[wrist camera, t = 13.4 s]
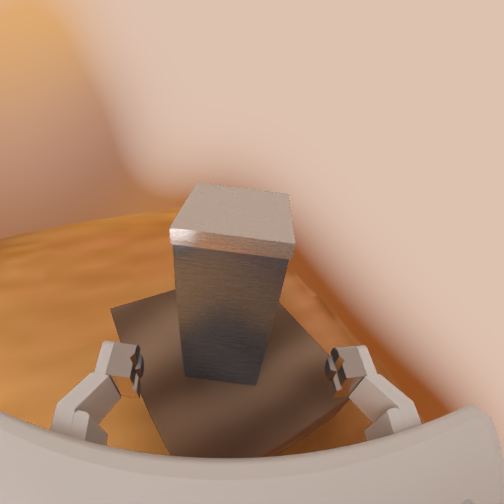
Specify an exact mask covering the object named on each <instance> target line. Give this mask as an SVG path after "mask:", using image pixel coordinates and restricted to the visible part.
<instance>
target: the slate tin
mask: <svg viewBox="0 0 504 504" xmlns="http://www.w3.org/2000/svg"><path fill="white" fill-rule="evenodd" d="M170 244H173V253H174V271H175V286H176V299H177V311H178V321H179V331H180V341H181V349H182V357H183V365H184V373H185V376H189V377H195V378H201V379H207V380H214V381H221V382H229V383H237V384H246V385H255V386H256V384H257V381H258V377H259V374H260V370H261V367H262V363H263V359H264V356H265V352H266V348H267V345H268V341H269V337H270V333H271V329H272V326H273V322H274V318H275V314H276V310H277V306H278V302H279V298H280V294H281V290H282V286H283V282H284V278H285V274H286V270H287V265H288V261H289V259H290V260H292V256H293V252H294V248H295V237H294V230H293V222H292V215H291V209H290V201H289V195H288V194H283V193H277V192H269V191H262V190H255V189H246V188H239V187H231V186H221V185H213V184H203V183H197V184H196V186H195V187H194V189H193V190H192V192H191V193H190V195H189V197H188V198H187V200H186V201H185V203H184V205H183V206H182V208H181V210H180V211H179V213H178V214H177V216H176V218H175V219H174V221H173V223H172V224H171V226H170Z"/></svg>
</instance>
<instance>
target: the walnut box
mask: <svg viewBox="0 0 504 504" xmlns="http://www.w3.org/2000/svg"><path fill="white" fill-rule="evenodd" d="M110 310H111V313H112V316H113V320H114V323H115V326H116V329H117V332H118V335H119V338H120V341H121V343H127V344H136V345H139V347H140V349H141V350H140V354H141V355H142V356H143V359H144V372H143V376H142V377H141V378H140V379H139V380H140V382H141V391H140V393H141V396H142V398H143V400H144V402H145V405H146V407H147V409H148V411H149V413H150V416H151V418H152V420H153V422H154V424H155V426H156V428H157V430H158V432H159V434H160V436H161V438H162V440H163V442H164V444H165V446H166V447H167V449H168V451H169V453H170V455H171V456H181V457H197V458H255V457H271V456H275V455H276V454H278V453H280V452H281V451H283V450H285V449H286V448H288V447H289V446H291V445H293V444H294V443H296V442H297V441H299V440H300V439H302V438H303V437H305V436H306V435H308V434H309V433H311V432H312V431H314V430H315V429H317V428H318V427H320V426H321V425H322V424H324V423H325V422H327V421H328V420H329V419H331V418H332V417H333V416H335V415H336V414H337V413H338V411H339V410H340V409H341V408H342V407H343V406H344V405H345V404H346V403H347V401H348V400H349V399H350V398H349V396H345V397H337V398H332V397H331V393H330V389H329V384H330V380H329V379H328V378H326V374H325V362H326V360H327V358H328V357H330V356H329V355H328V353H327V352H326V351H325V350H324V349H323V348H322V347H321V346H320V345H319V344H318V343H317V342H316V341H315V340H314V339H313V338H312V337H311V336H310V335H309V334H308V332H307V331H306V330H305V329H304V328H303V327H302V326H301V325H300V324H299V323H298V322H297V321H296V320H295V319H294V318H293V317H292V316H291V314H290V313H289V312H288V311H287V310H286V309H285V308H284V307H283V306H282V305H281V304H280V303H279V302H278V306H277V310H276V314H275V318H274V322H273V326H272V329H271V333H270V337H269V341H268V345H267V348H266V352H265V356H264V359H263V363H262V367H261V370H260V374H259V377H258V381H257V384H256V386H255V385H246V384H237V383H229V382H221V381H214V380H207V379H201V378H195V377H189V376H185V373H184V365H183V357H182V349H181V341H180V331H179V321H178V311H177V299H176V290H172V291H169V292H166V293H162V294H159V295H156V296H152V297H149V298H145V299H142V300H138V301H135V302H132V303H128V304H125V305H121V306H118V307H114V308H111V309H110Z"/></svg>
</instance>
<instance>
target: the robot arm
mask: <svg viewBox="0 0 504 504" xmlns="http://www.w3.org/2000/svg"><path fill="white" fill-rule="evenodd" d="M140 350H141V349H140V347H139V345H136V344H127V343H120V342H113V341H106V340H105V341H104V342H103V344H102V346H101V350H100V353H99V357H98V360H97V364H96V367H95V371H94V373H93V372H91V373H90V374H89V375H87V376H86V377H85V378H84V379H83V380H82V381H81V382H80V383H79V384H78V385H77V386H75V387H74V388H73V389H72V390H71V391H70V392H69V393H68V394H67V395H66V396H65V397H63V398H62V399H61V400H60V401H59V402H58V403H57V405H56V409H55V413H54V417H53V421H52V425H51V430H49V429H46V428H43V427H40V426H37V425H35V424H32V423H29V422H27V421H24V420H22V419H20V418H17V417H15V416H13V415H10V414H8V413H6V412H4V411H2V410H0V504H504V458H503V454H502V450H501V446H500V442H499V439H498V435H497V432H496V429H495V426H494V424H493V422H492V420H491V418H490V417H489V416H488V415H487V414H486V413H485V412H483V411H482V410H481V409H479V408H478V407H476V406H475V405H467V406H465V407H463V408H461V409H458V410H456V411H454V412H452V413H450V414H447V415H445V416H442V417H440V418H438V419H435V420H432V421H430V422H427V423H424V424H421V421H420V418H419V415H418V413H417V410H416V407H415V405H414V402H413V401H412V400H411V399H409V398H408V397H407V396H406V395H405V394H403V393H402V392H401V391H400V390H399V389H397V388H396V387H395V386H394V385H393V384H391V383H390V382H389V381H388V380H387V379H386V378H384V377H383V376H382V375H381V374H377V372H376V369H375V366H374V364H373V361H372V359H371V356H370V354H369V351H368V349H367V347H366V346H365V345H360V346H348V347H337V348H334V349H332V351H331V355H332V356H330V357H328V358H327V360H326V362H325V374H326V378H328V379H329V380H330V384H329V389H330V393H331V397H332V398H337V397H345V396H349V398H350V399H351V401H352V402H353V403H354V404H355V405H356V406H357V407H358V408H359V409H360V410H361V411H362V413H363V414H364V415H365V416H366V417H367V418H368V419H369V420H370V421H371V422H372V424H371V425H370V426H368V427H367V428H366V429H365V431H364V434H365V438H366V441H365V442H361V443H357V444H352V445H348V446H343V447H338V448H333V449H327V450H321V451H315V452H308V453H301V454H292V455H283V456H271V457H255V458H197V457H181V456H170V455H160V454H152V453H145V452H138V451H132V450H126V449H121V448H116V447H111V446H106V444H107V436H108V435H107V433H106V432H105V431H104V430H103V429H102V428H101V427H100V426H99V425H98V424H99V423H100V422H101V421H102V419H103V418H104V417H105V416H106V415H107V413H108V412H109V411H110V410H111V409H112V407H113V406H114V405H115V404H116V403H117V401H118V400H119V399H120V398H121V396H125V397H134V398H140V391H141V382H140V380H139V379H140V378H141V377H142V376H143V372H144V359H143V356H142V355H141V354H140Z"/></svg>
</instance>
